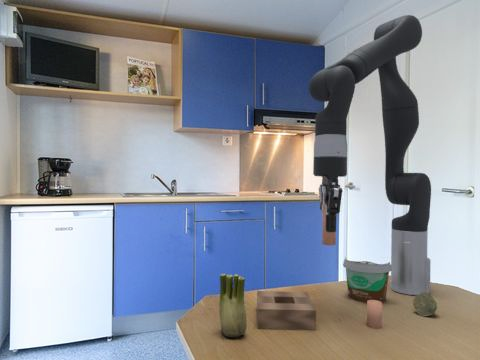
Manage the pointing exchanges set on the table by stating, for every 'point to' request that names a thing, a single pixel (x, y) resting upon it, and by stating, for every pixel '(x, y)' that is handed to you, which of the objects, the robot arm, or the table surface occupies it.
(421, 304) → the lime
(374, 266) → the food container
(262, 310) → the walnut block
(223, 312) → the fennel bulb
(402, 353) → the table surface
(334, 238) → the long dowel
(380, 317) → the short dowel
